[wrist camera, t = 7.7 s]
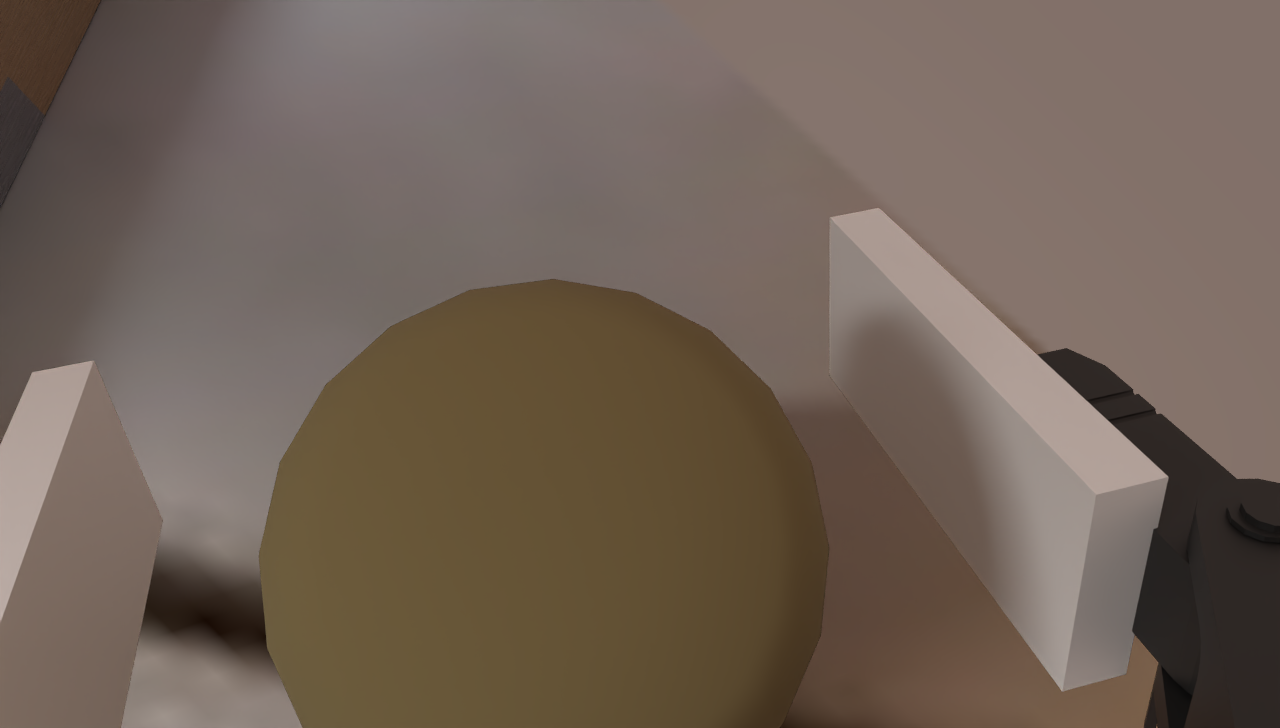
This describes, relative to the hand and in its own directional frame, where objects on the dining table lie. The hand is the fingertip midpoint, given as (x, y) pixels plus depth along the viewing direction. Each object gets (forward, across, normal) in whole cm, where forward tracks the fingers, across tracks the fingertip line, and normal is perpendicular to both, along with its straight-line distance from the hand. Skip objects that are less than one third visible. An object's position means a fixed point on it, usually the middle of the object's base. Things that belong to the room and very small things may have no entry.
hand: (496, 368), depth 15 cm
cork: (+1, 0, -6) cm, 6 cm away
